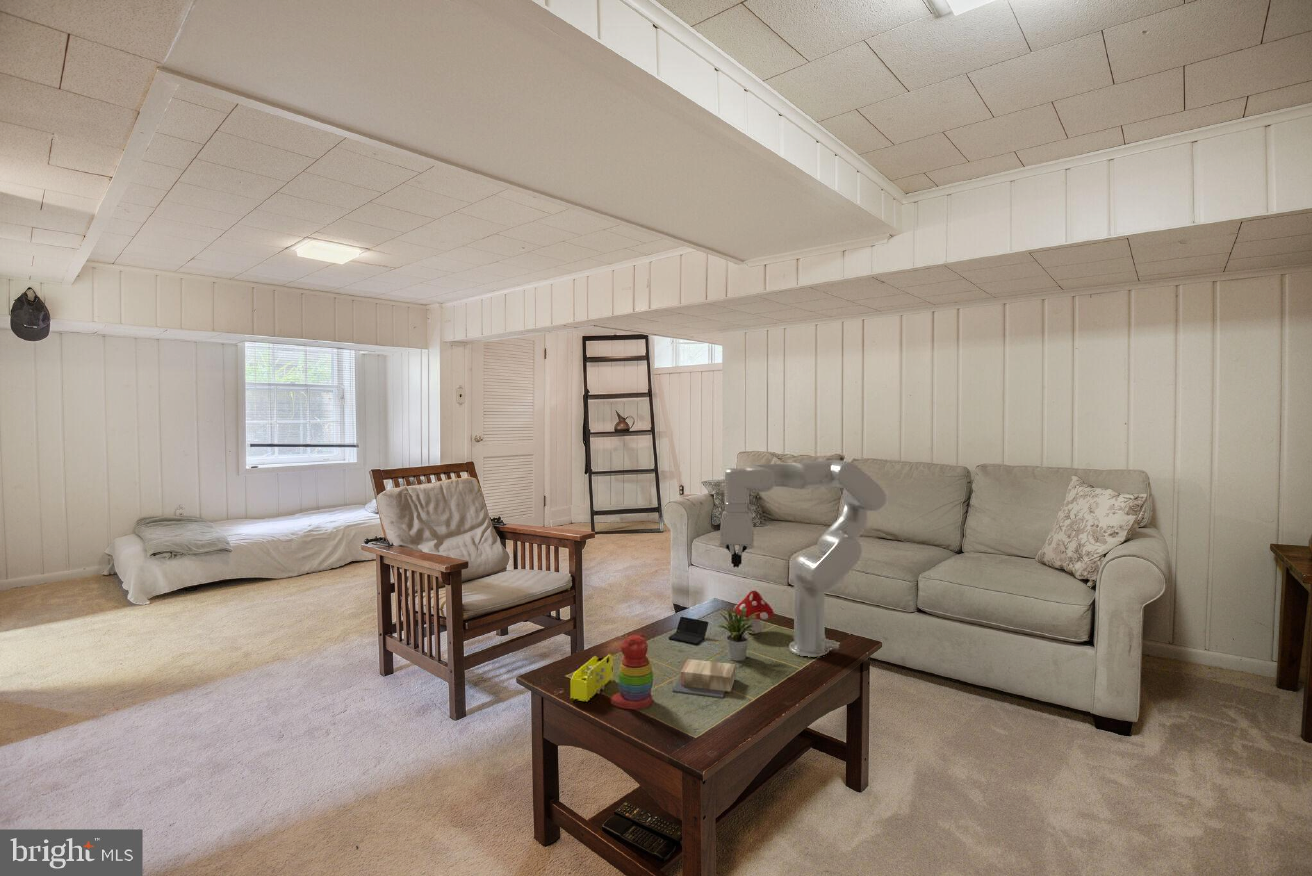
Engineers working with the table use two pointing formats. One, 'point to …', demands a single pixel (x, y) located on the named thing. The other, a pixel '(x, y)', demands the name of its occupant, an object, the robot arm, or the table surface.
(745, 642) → the house plant
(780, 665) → the table surface
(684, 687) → the mat
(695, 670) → the maple block
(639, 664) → the stacking bear
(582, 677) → the yellow toy chassis
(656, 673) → the table surface
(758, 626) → the decorative mushroom
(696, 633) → the handheld gaming console
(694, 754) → the table surface
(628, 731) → the table surface
